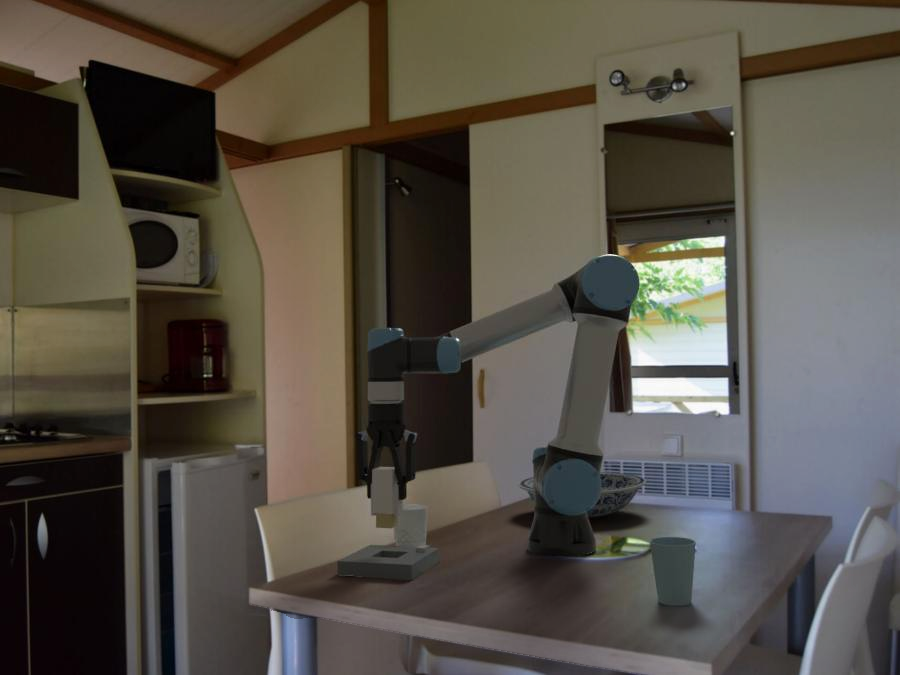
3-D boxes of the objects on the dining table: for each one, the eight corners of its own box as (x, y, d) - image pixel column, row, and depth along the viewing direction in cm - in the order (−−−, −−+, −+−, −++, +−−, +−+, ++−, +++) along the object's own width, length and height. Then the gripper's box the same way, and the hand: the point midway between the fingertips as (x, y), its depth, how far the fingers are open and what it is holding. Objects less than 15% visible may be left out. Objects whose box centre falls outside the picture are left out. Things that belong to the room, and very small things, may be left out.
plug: (401, 525, 179) (400, 467, 180) (392, 529, 175) (392, 469, 175) (381, 524, 181) (380, 466, 181) (372, 527, 176) (372, 469, 177)
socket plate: (439, 562, 182) (438, 544, 183) (412, 580, 167) (411, 560, 167) (370, 558, 188) (369, 541, 188) (337, 576, 172) (337, 557, 173)
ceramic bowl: (493, 517, 235) (492, 481, 235) (573, 502, 258) (572, 468, 258) (594, 533, 210) (592, 492, 210) (672, 514, 233) (671, 477, 233)
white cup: (423, 555, 190) (422, 510, 190) (389, 554, 191) (388, 509, 191) (431, 548, 197) (430, 504, 198) (398, 547, 199) (397, 504, 199)
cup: (642, 601, 148) (640, 541, 148) (668, 593, 153) (667, 534, 153) (679, 610, 142) (678, 547, 143) (706, 602, 147) (704, 540, 148)
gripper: (431, 401, 179) (432, 513, 179) (355, 401, 185) (356, 510, 184) (419, 403, 172) (420, 520, 171) (339, 402, 178) (340, 516, 177)
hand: (386, 514), depth 178 cm, fingers closed on plug, 4 cm apart
